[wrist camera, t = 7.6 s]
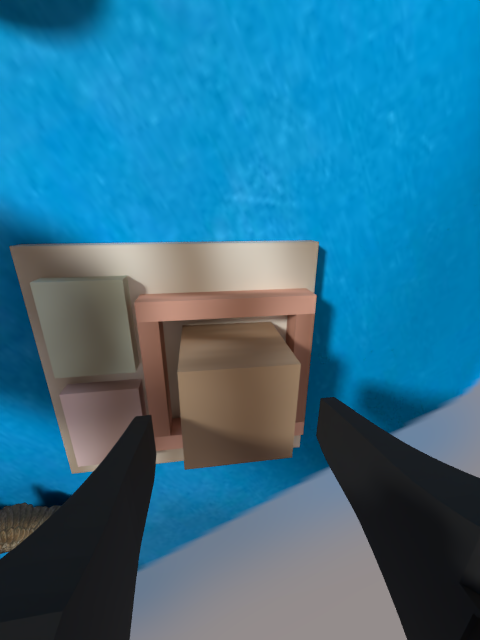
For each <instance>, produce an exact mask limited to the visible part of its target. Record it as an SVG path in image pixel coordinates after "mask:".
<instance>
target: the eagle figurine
mask: <svg viewBox="0 0 480 640" xmlns="http://www.w3.org/2000/svg"><path fill="white" fill-rule="evenodd" d="M60 507H61V506H57V505H54V506H51V507H50V508H48V507H46V506H44V507H41V506H37V507H33V505H32V504H30V505H28V504H27V503H22V504H16V505H13V506H5V507H4V508H3V509H0V554H1V553H5V552H10V551H11V550H13V549H14V548H15V547H16V546H17V545H19V544H20V543H21V542H22V541H23V540H25V539H26V538H27V537H28V536H29V535H30V534H32V533H33V532H34V531H35V530H36V529H37V528H38V527H39V526H40V525H42V524H43V523H44V522H45V521H46V520H47V519H48V518H49V517H50V516H51V515H52V514H53V513H54V512H56V511H57V510H58V509H59V508H60Z"/></svg>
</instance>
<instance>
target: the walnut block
mask: <svg viewBox="0 0 480 640" xmlns="http://www.w3.org/2000/svg"><path fill="white" fill-rule="evenodd" d="M300 369H301V363H300V362H299V361H298V359H297V358H296V356H295V355H294V354H293V352H292V351H291V349H290V348H289V346H288V345H287V344H286V342H285V341H284V339H283V338H282V337H281V335H280V334H279V332H278V331H277V330H276V328H275V327H274V325H273V324H272V322H250V323H227V324H204V325H183V326H182V335H181V344H180V353H179V362H178V371H177V374H178V388H179V401H180V414H181V427H182V440H183V454H184V467H185V470H186V469H194V468H203V467H212V466H221V465H229V464H238V463H247V462H256V461H264V460H273V459H282V458H291V457H292V452H293V442H294V431H295V421H296V411H297V400H298V390H299V380H300Z"/></svg>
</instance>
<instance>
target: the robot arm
mask: <svg viewBox="0 0 480 640" xmlns="http://www.w3.org/2000/svg"><path fill="white" fill-rule="evenodd" d="M316 436H317V439H318V441H319V444H320V447H321V449H322V452H323V454H324V456H325V459H326V460H327V462H328V464H329V466H330V468H331V470H332V472H333V473H334V475H335V477H336V479H337V481H338V482H339V484H340V486H341V488H342V489H343V491H344V493H345V495H346V497H347V498H348V500H349V502H350V504H351V506H352V508H353V509H354V511H355V513H356V515H357V517H358V519H359V521H360V523H361V525H362V528H363V530H364V533H365V535H366V537H367V539H368V542H369V544H370V546H371V548H372V551H373V553H374V555H375V558H376V560H377V563H378V565H379V568H380V570H381V572H382V575H383V577H384V579H385V582H386V585H387V587H388V590H389V592H390V595H391V598H392V600H393V603H394V605H395V608H396V610H397V613H398V615H399V618H400V621H401V624H402V626H403V629H404V632H405V635H406V637H407V640H480V478H478V477H475V476H473V475H470V474H468V473H465V472H463V471H461V470H459V469H456V468H454V467H452V466H449V465H447V464H445V463H443V462H441V461H438V460H437V459H435V458H432V457H430V456H429V455H427V454H425V453H423V452H420V451H419V450H417V449H415V448H413V447H411V446H409V445H407V444H406V443H404V442H402V441H400V440H399V439H397V438H396V437H394V436H392V435H391V434H389V433H387V432H386V431H384V430H383V429H381V428H379V427H378V426H376V425H375V424H373V423H372V422H370V421H369V420H367V419H366V418H364V417H363V416H361V415H360V414H358V413H357V412H355V411H354V410H353V409H351V408H350V407H348V406H347V405H345V404H344V403H342V402H341V401H339V400H338V399H336V398H334V397H330V398H321V400H320V409H319V417H318V425H317V434H316ZM156 455H157V454H156V446H155V439H154V431H153V424H152V416H151V415H144V416H136V417H135V418H134V419H133V420H132V421H131V423H130V424H129V426H128V427H127V429H126V430H125V431H124V433H123V434H122V436H121V437H120V438H119V440H118V441H117V443H116V444H115V445H114V446H113V448H112V449H111V450H110V452H109V453H108V454H107V456H106V457H105V458H104V459H103V461H102V462H101V463H100V464H99V465H98V467H97V468H96V469H95V470H94V471H93V472H92V474H91V475H90V476H89V477H88V478H87V480H86V481H85V482H84V483H83V484H82V485H81V486H80V487H79V488H78V489H77V490H76V492H75V493H74V494H73V495H72V496H71V497H70V498H69V499H68V500H67V501H66V502H65V503H64V504H63V505H62V506H61V507H60V508H59V509H58V510H57V511H56V512H54V513H53V514H52V515H51V516H50V517H49V518H48V519H47V520H46V521H45V522H44V523H43V524H42V525H40V526H39V527H38V528H37V529H36V530H35V531H34V532H33V533H32V534H30V535H29V536H28V537H27V538H26V539H25V540H23V541H22V542H21V543H20V544H19V545H17V546H16V547H15V548H14V549H13V550H11V551H10V552H9V553H8V554H6V555H5V556H4V557H3V558H1V559H0V640H129V639H130V629H131V620H132V611H133V601H134V593H135V584H136V576H137V568H138V560H139V553H140V547H141V542H142V537H143V532H144V527H145V522H146V517H147V513H148V508H149V503H150V498H151V493H152V488H153V483H154V476H155V466H156Z"/></svg>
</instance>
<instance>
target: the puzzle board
mask: <svg viewBox="0 0 480 640" xmlns="http://www.w3.org/2000/svg"><path fill="white" fill-rule="evenodd" d="M318 246H319V242H317V241H312V240H306V241H229V242H152V243H76V244H20V245H14V246H9V247H10V251H11V255H12V258H13V262H14V265H15V269H16V273H17V276H18V280H19V284H20V287H21V291H22V294H23V298H24V302H25V305H26V309H27V313H28V316H29V320H30V323H31V327H32V331H33V334H34V338H35V342H36V345H37V349H38V352H39V356H40V360H41V363H42V367H43V370H44V374H45V378H46V381H47V385H48V389H49V392H50V396H51V399H52V403H53V407H54V410H55V414H56V418H57V421H58V425H59V428H60V432H61V436H62V439H63V443H64V447H65V450H66V454H67V457H68V461H69V465H70V468H71V472H72V474H73V473H82V472H90V471H94V470H95V469H96V468H97V467H98V465H99V464H100V463H101V462H102V461H103V459H104V458H105V457H106V456H107V454H108V453H109V452H110V450H111V449H112V448H113V446H114V445H115V444H116V443H117V441H118V440H119V438H120V437H121V436H122V434H123V433H124V431H125V430H126V429H127V427H128V426H129V424H130V423H131V421H132V420H133V419H134V418H135V417H136V416H144V415H151V416H152V424H153V431H154V439H155V446H156V454H157V455H156V464H158V463H167V462H175V461H184V454H183V440H182V427H181V414H180V401H179V388H178V374H177V371H178V362H179V353H180V344H181V335H182V326H183V325H204V324H227V323H250V322H272V324H273V325H274V327H275V328H276V330H277V331H278V332H279V334H280V335H281V337H282V338H283V339H284V341H285V342H286V344H287V345H288V346H289V348H290V349H291V351H292V352H293V354H294V355H295V356H296V358H297V359H298V361H299V362H300V363H301V369H300V380H299V390H298V400H297V411H296V421H295V431H294V442H293V448H294V447H300V437H301V435H303V430H304V420H305V410H306V399H307V389H308V379H309V369H310V359H311V348H312V338H313V328H314V318H315V308H316V297H317V295H316V294H314V289H315V278H316V267H317V257H318Z"/></svg>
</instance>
